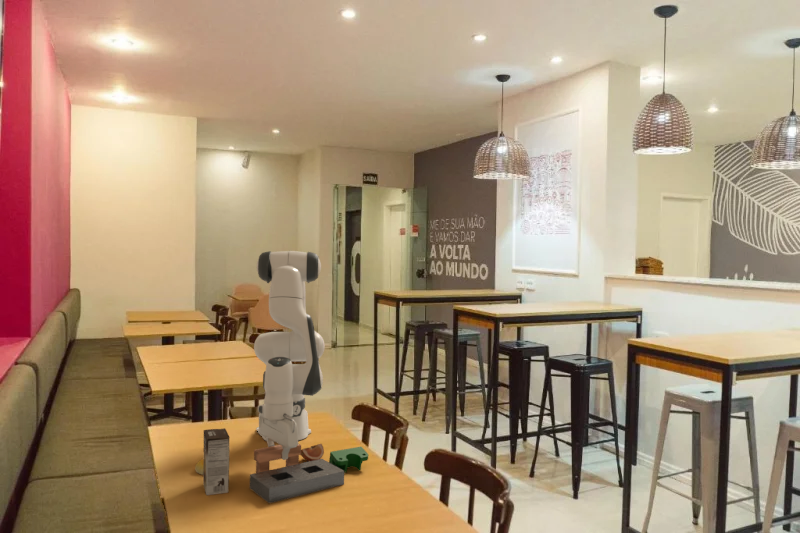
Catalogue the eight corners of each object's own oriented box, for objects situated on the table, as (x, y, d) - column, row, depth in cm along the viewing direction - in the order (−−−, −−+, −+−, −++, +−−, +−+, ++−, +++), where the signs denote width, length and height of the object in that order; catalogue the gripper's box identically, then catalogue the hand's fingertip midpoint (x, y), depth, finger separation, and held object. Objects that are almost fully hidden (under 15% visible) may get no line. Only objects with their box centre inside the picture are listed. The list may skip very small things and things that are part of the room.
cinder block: (249, 488, 174) (249, 474, 174) (321, 471, 189) (322, 458, 189) (269, 503, 164) (269, 488, 164) (344, 484, 179) (344, 470, 179)
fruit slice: (306, 466, 193) (307, 451, 193) (294, 461, 198) (294, 446, 198) (327, 460, 199) (327, 445, 199) (315, 455, 204) (315, 440, 204)
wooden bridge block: (253, 475, 184) (254, 449, 184) (294, 466, 193) (295, 441, 193) (259, 479, 181) (259, 453, 181) (300, 470, 189) (301, 445, 189)
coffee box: (202, 484, 177) (203, 429, 176) (225, 481, 179) (225, 427, 179) (205, 495, 168) (206, 438, 168) (229, 492, 171) (229, 436, 171)
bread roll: (197, 467, 191) (197, 454, 191) (226, 466, 193) (226, 453, 193) (193, 476, 183) (193, 463, 183) (223, 475, 185) (223, 462, 185)
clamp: (340, 486, 188) (333, 464, 185) (332, 476, 193) (325, 454, 190) (373, 467, 193) (367, 445, 189) (364, 457, 198) (358, 436, 194)
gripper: (303, 416, 180) (303, 462, 180) (273, 402, 196) (272, 444, 197) (284, 419, 176) (283, 466, 177) (255, 405, 193) (254, 448, 193)
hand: (277, 455), depth 187 cm, fingers open, 7 cm apart
